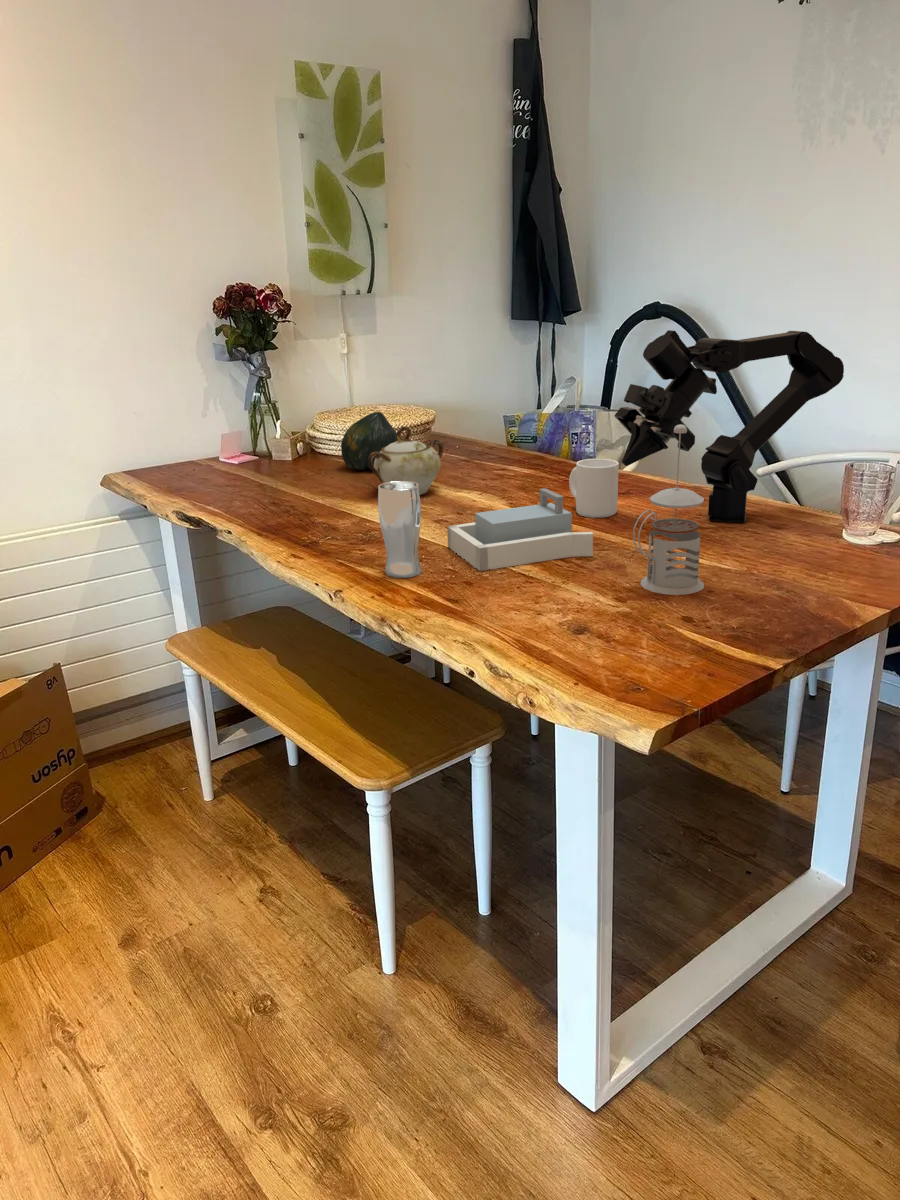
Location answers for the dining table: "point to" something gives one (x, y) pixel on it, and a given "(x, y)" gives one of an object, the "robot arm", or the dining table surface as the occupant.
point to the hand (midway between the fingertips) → (624, 464)
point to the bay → (516, 548)
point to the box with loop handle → (524, 521)
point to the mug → (595, 487)
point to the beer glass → (400, 527)
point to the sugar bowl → (407, 461)
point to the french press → (673, 542)
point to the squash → (366, 440)
